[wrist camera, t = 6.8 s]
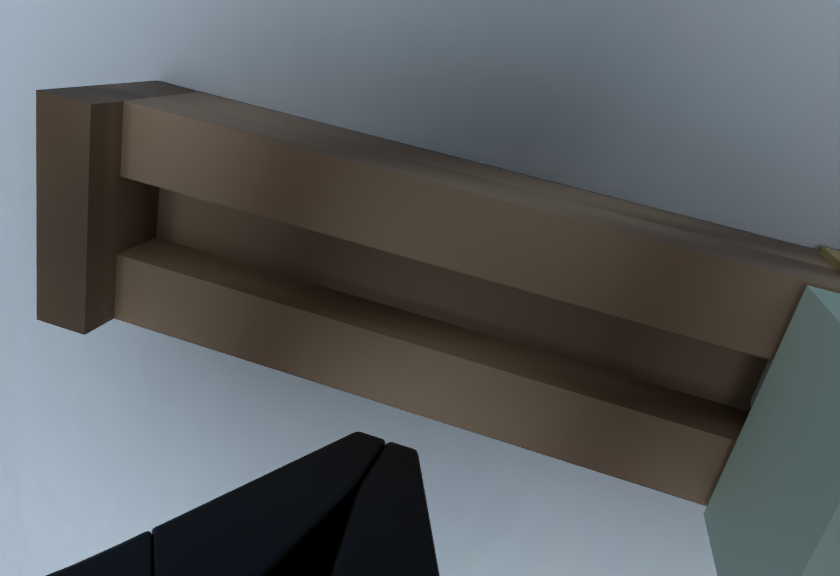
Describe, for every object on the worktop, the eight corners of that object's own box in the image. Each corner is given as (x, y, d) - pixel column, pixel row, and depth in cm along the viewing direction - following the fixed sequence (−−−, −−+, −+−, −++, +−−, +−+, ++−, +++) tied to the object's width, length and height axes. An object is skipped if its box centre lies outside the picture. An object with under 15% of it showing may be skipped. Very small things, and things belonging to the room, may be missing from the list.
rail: (1404, 391, 13) (1717, 526, 9) (1225, 599, 15) (1427, 778, 11) (157, 74, 17) (36, 81, 13) (145, 271, 19) (36, 325, 15)
